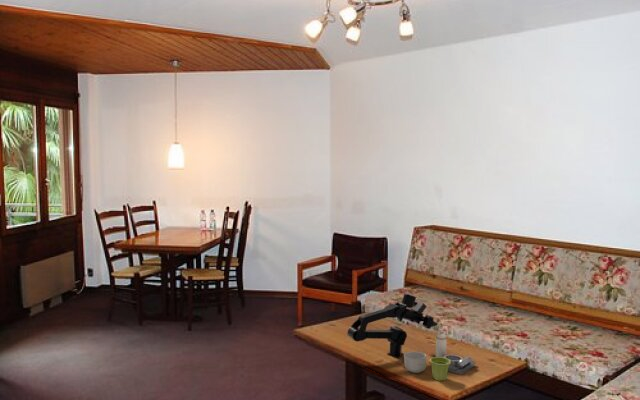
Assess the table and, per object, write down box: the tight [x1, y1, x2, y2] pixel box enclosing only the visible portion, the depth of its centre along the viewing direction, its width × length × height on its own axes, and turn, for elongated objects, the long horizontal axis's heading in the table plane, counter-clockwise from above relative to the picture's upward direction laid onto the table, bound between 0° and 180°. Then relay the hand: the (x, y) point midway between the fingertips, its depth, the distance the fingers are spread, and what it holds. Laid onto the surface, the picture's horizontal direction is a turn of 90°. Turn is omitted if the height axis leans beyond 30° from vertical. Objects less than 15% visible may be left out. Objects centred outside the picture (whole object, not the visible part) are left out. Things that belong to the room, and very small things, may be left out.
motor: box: [444, 354, 476, 376], centre depth 270 cm, size 16×13×5 cm
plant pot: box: [429, 356, 450, 382], centre depth 254 cm, size 9×9×9 cm
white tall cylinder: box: [435, 333, 448, 358], centre depth 282 cm, size 5×5×12 cm
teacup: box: [403, 350, 427, 374], centre depth 265 cm, size 14×11×8 cm
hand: (432, 322), depth 294 cm, fingers open, 9 cm apart
